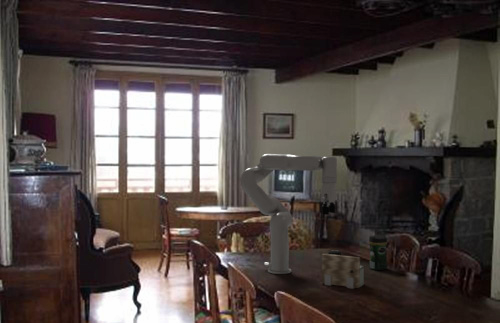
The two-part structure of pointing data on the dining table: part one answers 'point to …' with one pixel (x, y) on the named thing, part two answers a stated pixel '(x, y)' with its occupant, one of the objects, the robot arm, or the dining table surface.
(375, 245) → the coffee jar
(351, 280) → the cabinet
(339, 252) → the container
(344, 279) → the beige thin block
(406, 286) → the dining table surface
